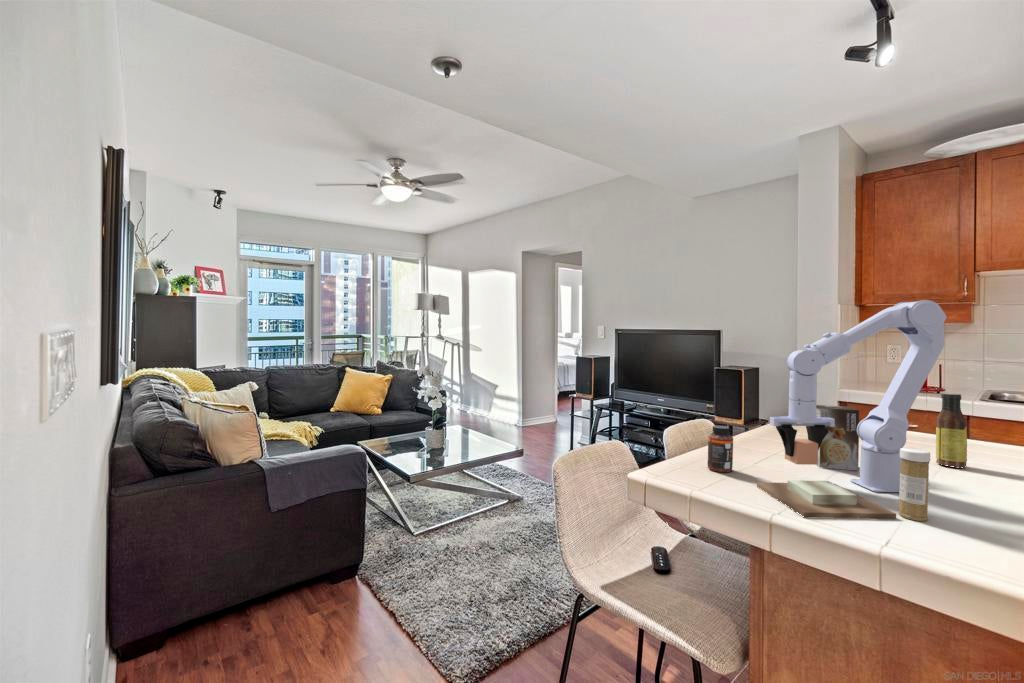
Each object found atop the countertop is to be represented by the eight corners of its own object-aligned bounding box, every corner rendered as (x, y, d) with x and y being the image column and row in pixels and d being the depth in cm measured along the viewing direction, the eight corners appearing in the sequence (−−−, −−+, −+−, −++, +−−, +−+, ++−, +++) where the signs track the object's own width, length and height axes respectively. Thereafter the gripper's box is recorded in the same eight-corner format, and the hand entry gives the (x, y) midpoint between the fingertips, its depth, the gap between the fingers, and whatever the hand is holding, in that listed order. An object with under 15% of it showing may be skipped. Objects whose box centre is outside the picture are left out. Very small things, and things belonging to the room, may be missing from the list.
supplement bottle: (735, 474, 121) (736, 429, 120) (710, 472, 122) (711, 428, 121) (729, 467, 126) (730, 424, 126) (705, 465, 128) (706, 423, 127)
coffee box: (849, 464, 131) (851, 406, 130) (858, 471, 124) (861, 410, 124) (811, 461, 133) (813, 404, 133) (818, 467, 127) (820, 407, 127)
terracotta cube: (804, 458, 118) (805, 438, 118) (817, 464, 113) (818, 443, 113) (784, 458, 118) (785, 438, 118) (796, 464, 113) (797, 443, 113)
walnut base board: (834, 487, 111) (834, 475, 111) (896, 518, 93) (896, 503, 93) (756, 486, 111) (757, 473, 111) (803, 517, 93) (804, 502, 93)
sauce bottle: (973, 469, 127) (976, 395, 127) (949, 469, 127) (952, 395, 127) (950, 462, 134) (953, 392, 133) (928, 462, 134) (931, 391, 133)
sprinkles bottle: (931, 518, 93) (933, 450, 93) (923, 523, 91) (926, 453, 90) (902, 511, 97) (904, 445, 97) (893, 515, 94) (896, 448, 94)
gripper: (821, 397, 119) (820, 451, 120) (763, 397, 119) (762, 451, 120) (841, 402, 112) (839, 459, 113) (779, 401, 112) (778, 458, 113)
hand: (801, 455), depth 116 cm, fingers closed on terracotta cube, 5 cm apart
